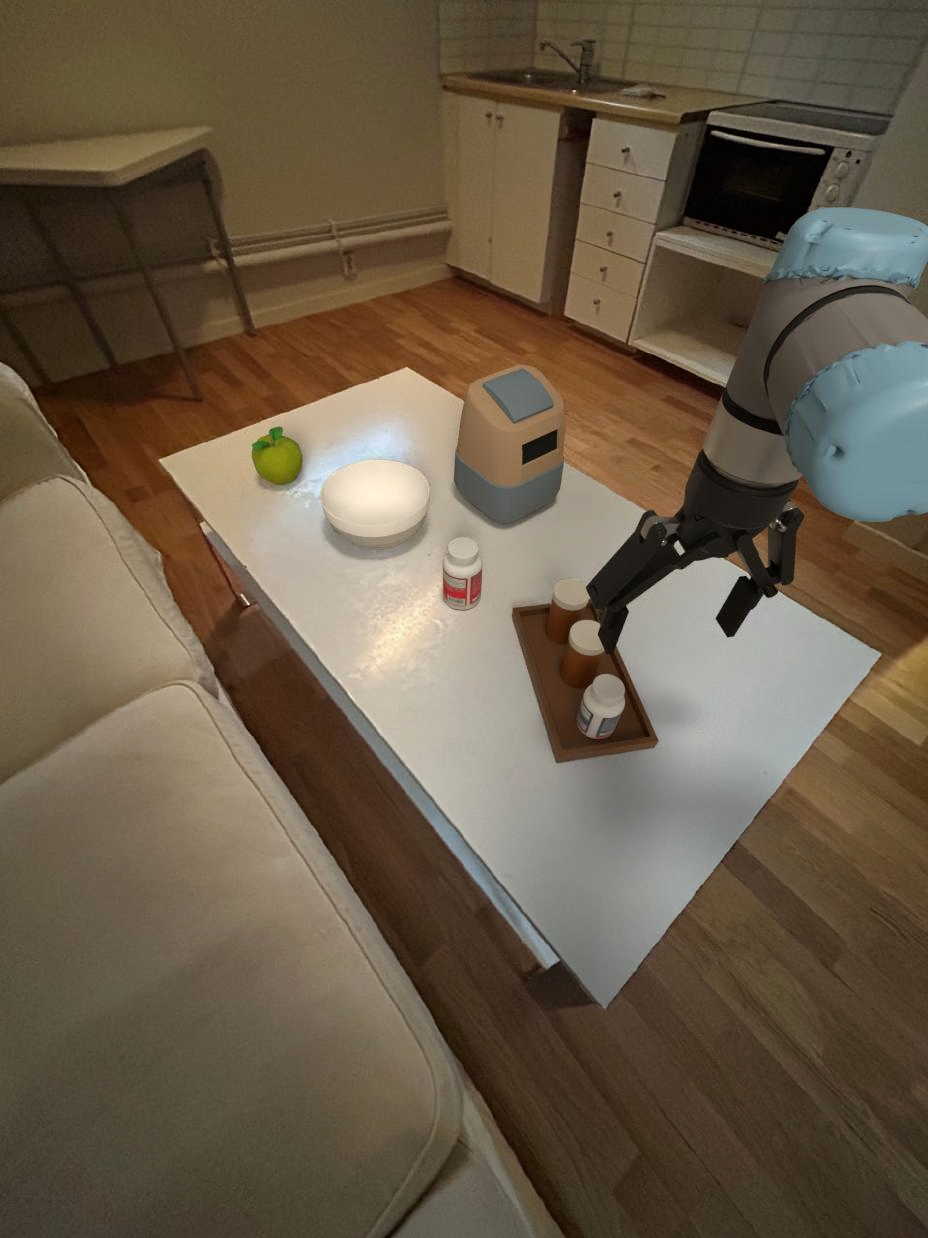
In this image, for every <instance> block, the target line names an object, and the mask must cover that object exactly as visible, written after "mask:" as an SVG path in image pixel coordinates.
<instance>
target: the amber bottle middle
mask: <svg viewBox="0 0 928 1238" xmlns="http://www.w3.org/2000/svg"><path fill="white" fill-rule="evenodd" d="M599 628H600V623H598V622H595V621H592V620H581V621H578V622H576V623H575V624H574V625H573V626H572V627H571V630H570V633H569V640H568V643H567V647H566V651H565V654H564V658H563V662H562V665H561V669H560V675H561V677H562V679H563V681H564V682H565V683H566V684H568V685H569V686H571V687H574V688H585V687H588V686H589V685H591V684H592V682H593V681H594V678H595V675H596V673H597V670H598V667H599V664H600V662H601V659H602V656H603V653H604V651H605V650H604V648H603V646H602V643H601V641H600V639H599V637H598V631H599Z"/></svg>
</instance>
